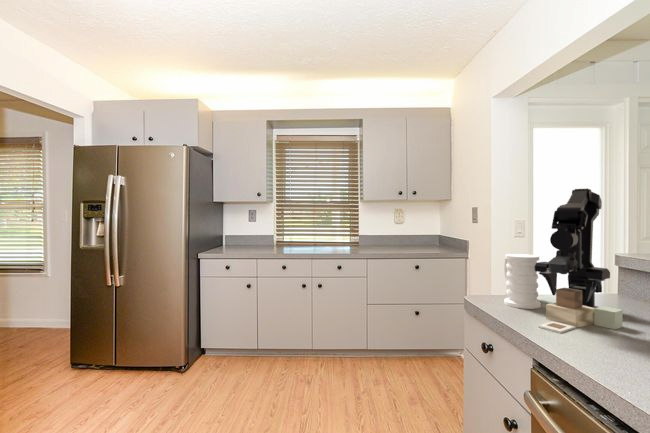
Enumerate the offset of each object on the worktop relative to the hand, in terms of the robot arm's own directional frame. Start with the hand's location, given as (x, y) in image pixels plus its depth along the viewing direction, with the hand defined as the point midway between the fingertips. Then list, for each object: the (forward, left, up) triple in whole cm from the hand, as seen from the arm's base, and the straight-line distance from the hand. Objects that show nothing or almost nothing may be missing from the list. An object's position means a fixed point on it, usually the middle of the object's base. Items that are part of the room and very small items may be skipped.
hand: (570, 298), depth 109 cm
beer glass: (-17, -28, -7) cm, 34 cm away
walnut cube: (0, 0, -2) cm, 3 cm away
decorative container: (-7, -19, -7) cm, 22 cm away
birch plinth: (0, 0, -8) cm, 8 cm away
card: (+10, +1, -7) cm, 12 cm away
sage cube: (-5, +8, -7) cm, 12 cm away
